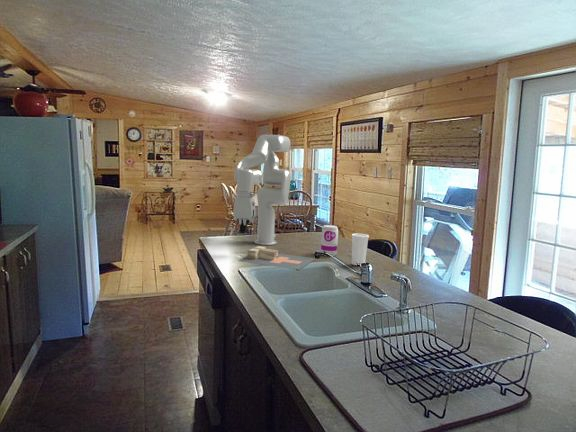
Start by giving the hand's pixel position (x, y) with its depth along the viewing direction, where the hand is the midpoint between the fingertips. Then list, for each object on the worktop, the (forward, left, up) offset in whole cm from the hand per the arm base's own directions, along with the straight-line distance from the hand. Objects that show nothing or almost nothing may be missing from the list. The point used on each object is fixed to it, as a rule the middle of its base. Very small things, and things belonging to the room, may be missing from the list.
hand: (243, 232), depth 210 cm
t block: (-1, +11, -11) cm, 16 cm away
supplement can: (-25, +36, -12) cm, 46 cm away
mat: (-1, +18, -11) cm, 22 cm away
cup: (-13, +54, -12) cm, 57 cm away
